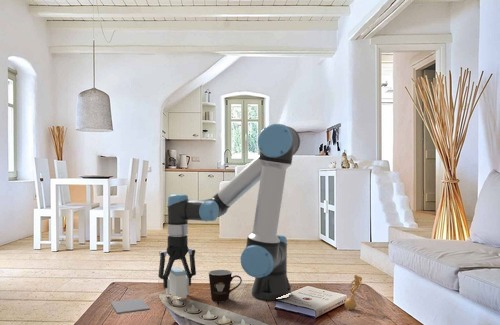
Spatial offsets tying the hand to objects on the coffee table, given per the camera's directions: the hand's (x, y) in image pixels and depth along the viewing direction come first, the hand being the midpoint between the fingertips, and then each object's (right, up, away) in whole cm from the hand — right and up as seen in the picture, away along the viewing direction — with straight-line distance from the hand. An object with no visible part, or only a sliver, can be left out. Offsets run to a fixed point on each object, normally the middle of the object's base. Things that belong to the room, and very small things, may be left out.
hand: (177, 295), depth 177 cm
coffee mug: (+18, -1, -5) cm, 19 cm away
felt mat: (-15, 0, -13) cm, 20 cm away
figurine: (+63, -1, -16) cm, 66 cm away
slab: (0, 0, 0) cm, 0 cm away
